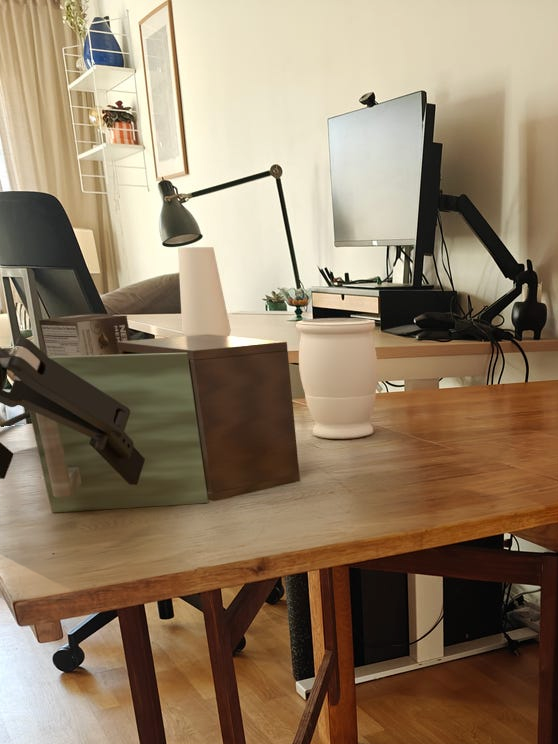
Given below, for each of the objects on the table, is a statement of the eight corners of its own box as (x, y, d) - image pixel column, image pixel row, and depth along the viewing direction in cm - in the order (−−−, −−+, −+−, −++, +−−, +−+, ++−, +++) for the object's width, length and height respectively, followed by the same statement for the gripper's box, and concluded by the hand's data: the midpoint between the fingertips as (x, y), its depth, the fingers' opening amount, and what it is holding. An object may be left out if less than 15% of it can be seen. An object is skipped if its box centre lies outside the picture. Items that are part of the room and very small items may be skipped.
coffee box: (111, 436, 120) (89, 313, 113) (150, 439, 118) (129, 314, 111) (63, 450, 112) (35, 318, 106) (103, 453, 110) (77, 319, 104)
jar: (396, 431, 122) (391, 319, 116) (347, 444, 114) (338, 324, 108) (339, 424, 127) (331, 316, 121) (289, 436, 119) (278, 321, 113)
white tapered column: (194, 427, 126) (168, 247, 116) (196, 419, 132) (172, 247, 122) (241, 425, 128) (220, 247, 118) (241, 417, 134) (221, 247, 124)
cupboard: (214, 502, 88) (193, 350, 82) (140, 479, 97) (116, 341, 91) (300, 482, 96) (287, 341, 90) (224, 463, 105) (207, 334, 99)
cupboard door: (204, 517, 83) (182, 359, 77) (38, 528, 80) (1, 364, 74) (208, 501, 88) (187, 352, 82) (53, 510, 85) (20, 357, 79)
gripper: (-278, 345, 61) (-61, 498, 80) (34, 350, 56) (184, 511, 76) (-234, 262, 63) (-34, 430, 83) (68, 260, 59) (205, 438, 78)
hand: (70, 469), depth 79 cm, fingers open, 13 cm apart
